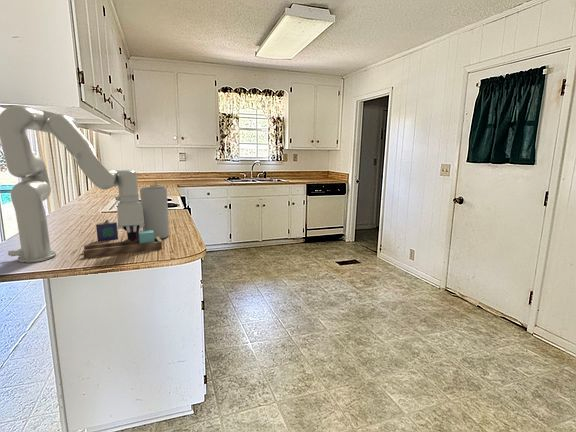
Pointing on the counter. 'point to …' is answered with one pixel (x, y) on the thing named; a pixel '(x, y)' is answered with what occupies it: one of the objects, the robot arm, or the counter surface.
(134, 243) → the chute
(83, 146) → the robot arm
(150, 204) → the cylinder vase
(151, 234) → the block
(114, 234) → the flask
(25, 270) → the counter surface
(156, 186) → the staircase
